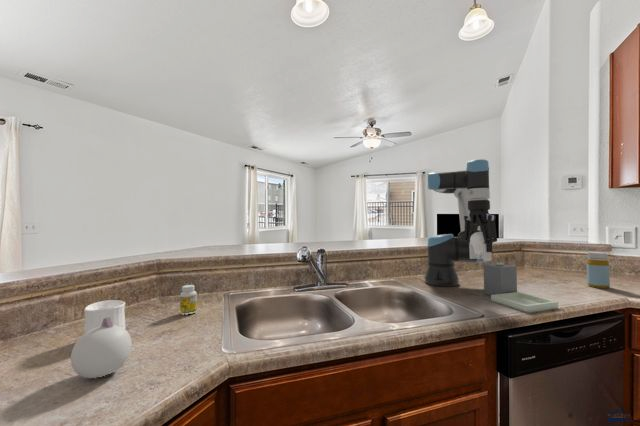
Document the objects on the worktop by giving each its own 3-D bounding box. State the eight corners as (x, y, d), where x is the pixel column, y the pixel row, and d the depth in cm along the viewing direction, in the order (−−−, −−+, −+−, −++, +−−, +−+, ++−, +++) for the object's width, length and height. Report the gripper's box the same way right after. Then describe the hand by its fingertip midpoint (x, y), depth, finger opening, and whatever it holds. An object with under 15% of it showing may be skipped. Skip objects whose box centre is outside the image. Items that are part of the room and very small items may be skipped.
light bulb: (492, 261, 105) (492, 232, 105) (473, 261, 107) (472, 232, 107) (487, 259, 111) (486, 231, 112) (468, 259, 113) (467, 231, 113)
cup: (93, 350, 73) (93, 312, 73) (75, 342, 78) (75, 307, 78) (132, 336, 81) (132, 302, 81) (114, 330, 86) (114, 297, 86)
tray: (491, 300, 107) (490, 295, 107) (519, 297, 111) (519, 291, 111) (527, 312, 93) (526, 306, 93) (558, 308, 97) (558, 301, 97)
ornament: (140, 360, 67) (139, 309, 67) (115, 385, 57) (115, 325, 57) (92, 364, 65) (91, 312, 66) (58, 391, 55) (57, 330, 55)
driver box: (483, 293, 118) (482, 261, 118) (498, 291, 120) (497, 260, 120) (501, 298, 110) (500, 265, 110) (517, 296, 112) (516, 263, 112)
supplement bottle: (200, 312, 101) (200, 285, 101) (186, 316, 96) (186, 288, 96) (190, 309, 103) (190, 283, 104) (177, 314, 99) (176, 286, 99)
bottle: (613, 287, 122) (612, 252, 122) (604, 289, 120) (603, 253, 120) (592, 284, 129) (591, 251, 129) (583, 285, 126) (582, 252, 126)
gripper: (453, 201, 118) (454, 257, 118) (490, 197, 99) (492, 263, 99) (468, 201, 120) (470, 256, 119) (508, 197, 101) (510, 262, 100)
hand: (480, 259), depth 109 cm, fingers closed on light bulb, 6 cm apart
